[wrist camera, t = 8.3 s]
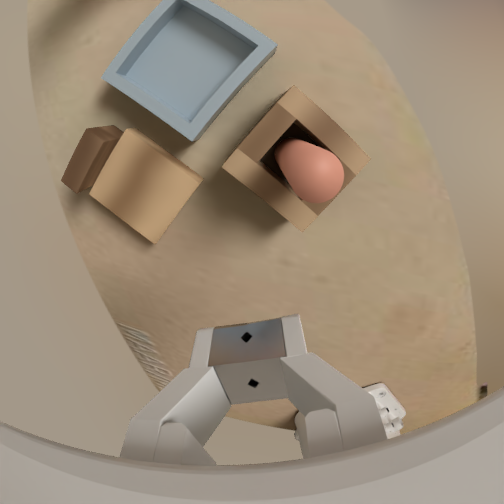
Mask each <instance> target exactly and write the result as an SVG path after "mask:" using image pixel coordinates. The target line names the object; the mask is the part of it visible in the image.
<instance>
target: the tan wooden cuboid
mask: <svg viewBox="0 0 504 504" xmlns="http://www.w3.org/2000/svg"><path fill="white" fill-rule="evenodd" d="M203 179H204V178H202V177H201V176H200V175H198V174H197V173H196V172H194V171H193V170H192V169H190V168H189V167H188V166H186V165H185V164H184V163H182V162H181V161H180V160H178V159H177V158H176V157H174V156H173V155H172V154H170V153H169V152H168V151H166V150H165V149H164V148H162V147H161V146H160V145H158V144H157V143H156V142H154V141H153V140H151V139H150V138H149V137H147V136H146V135H145V134H143V133H142V132H141V131H139V130H138V129H136V128H129V129H126V130H125V132H124V133H123V135H122V136H121V138H120V140H119V141H118V143H117V144H116V146H115V148H114V149H113V151H112V153H111V154H110V156H109V158H108V160H107V161H106V163H105V165H104V167H103V169H102V170H101V172H100V174H99V176H98V178H97V180H96V182H95V183H94V185H93V187H92V189H91V191H90V193H89V194H90V195H91V196H92V197H93V198H95V199H96V200H97V201H99V202H100V203H101V204H102V205H104V206H105V207H106V208H107V209H109V210H110V211H111V212H113V213H114V214H115V215H117V216H118V217H119V218H120V219H122V220H123V221H124V222H126V223H127V224H128V225H130V226H131V227H132V228H134V229H135V230H136V231H138V232H139V233H140V234H142V235H143V236H144V237H146V238H147V239H148V240H150V241H151V242H152V243H154V244H156V243H157V242H158V240H159V239H160V237H161V236H162V235H163V233H164V232H165V230H166V229H167V228H168V226H169V225H170V223H171V222H172V221H173V219H174V218H175V216H176V215H177V214H178V212H179V211H180V210H181V208H182V207H183V206H184V204H185V203H186V202H187V200H188V199H189V198H190V196H191V195H192V194H193V192H194V191H195V190H196V188H197V187H198V186H199V185H200V183H201V182H202V181H203Z"/></svg>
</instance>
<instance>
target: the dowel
mask: <svg viewBox="0 0 504 504" xmlns="http://www.w3.org/2000/svg"><path fill="white" fill-rule="evenodd" d="M275 160H276V162H277V164H278V165H279V167H280V169H281V170H282V172H283V174H284V175H285V177H286V179H287V180H288V182H289V184H290V185H291V187H292V189H293V191H294V192H295V193H296V195H297V196H299V197H300V198H301V199H303V200H305V201H307V202H310V203H322V202H326V201H328V200H330V199H332V198H333V197H334V196H335V195H336V194H337V193H338V192H339V191H340V189H341V187H342V185H343V181H344V170H343V166H342V164H341V162H340V160H339V159H338V158H337V157H336V156H335V155H334V154H333V153H331V152H330V151H327V150H325V149H323V148H320V147H318V146H315V145H313V144H310V143H308V142H305V141H303V140H300V139H298V138H286V139H284V140H282V141H281V142H279V144H278V145H277V147H276V149H275Z"/></svg>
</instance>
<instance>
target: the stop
mask: <svg viewBox="0 0 504 504" xmlns="http://www.w3.org/2000/svg"><path fill="white" fill-rule="evenodd" d="M123 133H124V132H122V131H121V130H120V129H118V128H117V127H116V126H114V125H112V126H103V127H95V128H88V129H86V130H85V132H84V134H83V136H82V138H81V140H80V142H79V143H78V145H77V147H76V149H75V151H74V153H73V155H72V158H71V160H70V162H69V164H68V166H67V168H66V170H65V173H64V175H63V177H62V179H61V181H62V182H63V183H64V184H65V185H67V186H68V187H69V188H70V189H71V190H73V191H74V192H75V193H76V194H77V193H79V192H81V191H83V190H85V189H87V188H89V187H91V186H93V185H94V183H95V182H96V180H97V178H98V176H99V174H100V172H101V170H102V169H103V167H104V165H105V163H106V161H107V160H108V158H109V156H110V154H111V153H112V151H113V149H114V148H115V146H116V144H117V143H118V141H119V140H120V138H121V136H122V135H123Z"/></svg>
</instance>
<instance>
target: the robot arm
mask: <svg viewBox="0 0 504 504" xmlns="http://www.w3.org/2000/svg"><path fill="white" fill-rule="evenodd" d="M281 318H282V320H281ZM284 398H289V400H290V401H291V402H292V403H293V404H294V406H295V407H296V408H297V409H298V410H299V412H298V413H297V415H296V417H295V424H296V427H297V429H296V431H295V434H294V435H295V438H296V440H299V441H300V445H301V450H302V454H303V459H298V460H291V461H283V462H274V463H263V464H249V465H221V466H216V462H215V461H214V460H213V459H212V458H211V457H210V455H209V454H208V453H207V452H206V451H205V450H204V448H203V446H204V445H205V443H206V442H207V440H208V439H209V438H210V436H211V435H212V434H213V432H214V431H215V429H216V428H217V426H218V425H219V424H220V422H221V421H222V419H223V418H224V416H225V415H226V413H227V412H228V410H229V409H230V407H231V405H232V404H241V403H249V402H257V401H266V400H276V399H284ZM405 414H406V412H405V409H404V408H403V406H402V405H401V404H400V403H399V401H398V400H397V399H396V398H395V396H394V395H393V394H392V393H391V392H390V390H389V389H388V388H387V387H386V385H385V384H383V383H378V384H374V385H371V386H368V387H365V388H361V387H360V386H358V385H357V384H356V383H354V382H353V381H351V380H350V379H349V378H347V377H346V376H344V375H343V374H342V373H340V372H339V371H338V370H336V369H335V368H333V367H332V366H331V365H329V364H328V363H327V362H325V361H324V360H323V359H321V358H320V357H318V356H317V355H316V354H314V353H313V352H311V353H307V349H306V344H305V339H304V334H303V330H302V325H301V320H300V316H299V314H293V315H288V316H283V317H280V318H275V319H269V320H263V321H257V322H251V323H242V324H234V325H226V326H217V327H210V328H200V329H198V331H197V332H196V337H195V341H194V346H193V350H192V355H191V359H190V364H189V368H186V369H183V370H182V371H181V372H180V373H179V374H178V375H177V376H176V377H175V378H174V379H173V380H172V381H171V382H170V383H169V384H168V385H167V386H165V387H164V388H163V389H162V390H161V391H160V392H159V393H158V394H157V395H156V396H155V397H154V398H153V399H152V400H151V401H150V402H149V403H148V404H146V405H145V406H144V407H143V408H142V409H141V410H140V411H139V412H138V413H137V414H136V415H135V416H134V417H133V418H132V419H131V420H130V424H129V427H128V430H127V433H126V437H125V440H124V444H123V447H122V451H121V454H120V457H114V456H108V455H104V454H99V453H95V452H90V451H86V450H82V449H78V448H74V447H70V446H67V445H64V444H60V443H57V442H54V441H50V440H47V439H44V438H41V437H38V436H36V435H33V434H30V433H28V432H25V431H22V430H20V429H17V428H15V427H12V426H10V425H8V424H6V423H3V422H1V421H0V504H504V387H502V388H500V389H499V390H497V391H495V392H494V393H492V394H490V395H488V396H487V397H485V398H483V399H481V400H479V401H477V402H476V403H474V404H472V405H470V406H468V407H466V408H464V409H462V410H460V411H458V412H456V413H453V414H451V415H449V416H447V417H445V418H442V419H440V420H438V421H435V422H433V423H431V424H428V425H426V426H423V427H421V428H418V429H415V430H413V431H410V432H407V433H404V434H402V435H400V431H399V430H400V429H401V428H403V427H404V426H403V422H402V420H401V419H402V418H403V417H404V416H405Z"/></svg>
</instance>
